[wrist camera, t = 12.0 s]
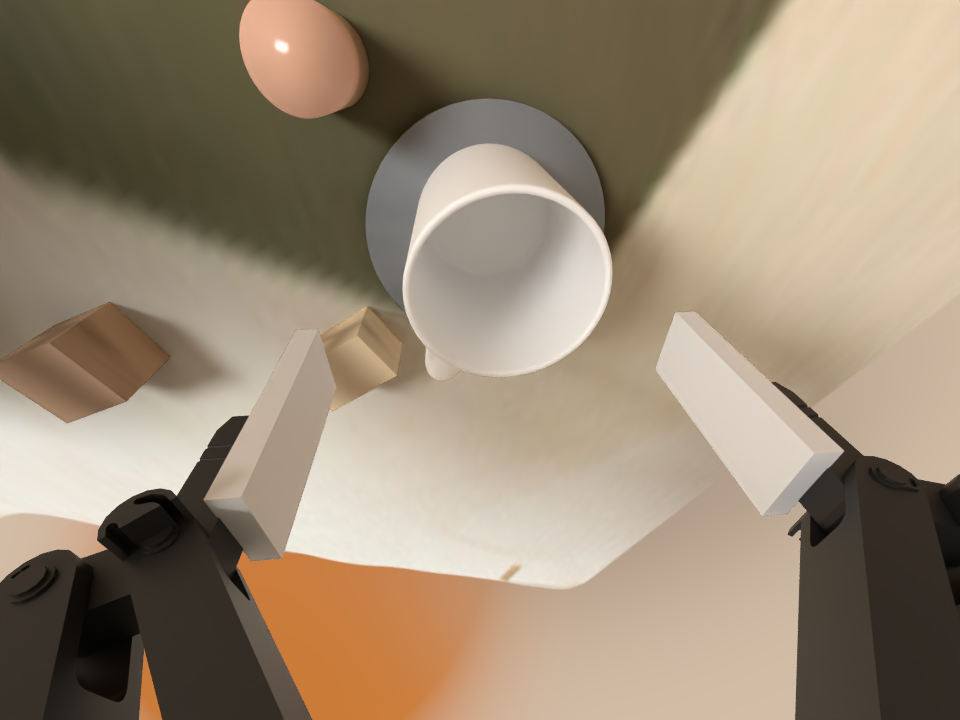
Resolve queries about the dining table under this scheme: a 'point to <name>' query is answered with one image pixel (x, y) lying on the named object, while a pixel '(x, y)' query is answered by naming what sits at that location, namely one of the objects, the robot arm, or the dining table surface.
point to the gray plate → (445, 136)
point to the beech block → (360, 355)
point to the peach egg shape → (303, 56)
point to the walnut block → (84, 364)
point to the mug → (502, 267)
